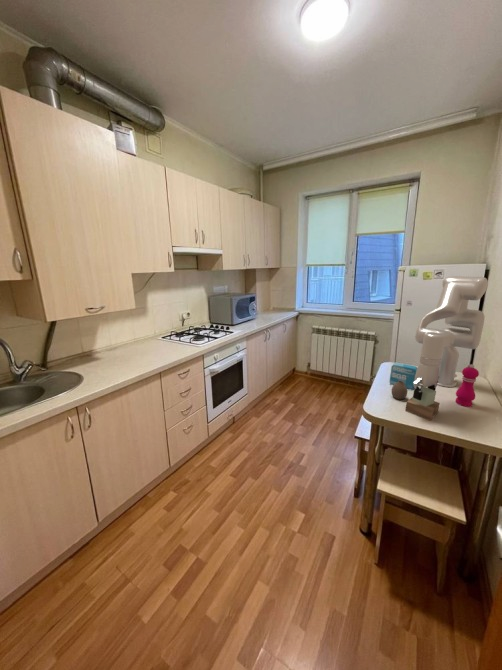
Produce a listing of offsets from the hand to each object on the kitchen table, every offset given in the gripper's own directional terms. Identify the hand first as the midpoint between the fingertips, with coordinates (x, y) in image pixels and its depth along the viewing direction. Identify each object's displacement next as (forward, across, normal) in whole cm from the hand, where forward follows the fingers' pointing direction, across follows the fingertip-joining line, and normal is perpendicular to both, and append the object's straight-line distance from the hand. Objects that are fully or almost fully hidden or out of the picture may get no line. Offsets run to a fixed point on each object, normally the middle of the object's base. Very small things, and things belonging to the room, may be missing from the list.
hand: (423, 396), depth 118 cm
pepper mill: (+8, -25, +5) cm, 27 cm away
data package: (+8, -17, -21) cm, 28 cm away
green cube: (+3, 0, 0) cm, 3 cm away
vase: (+8, -3, -13) cm, 15 cm away
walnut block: (+8, 0, 0) cm, 8 cm away
